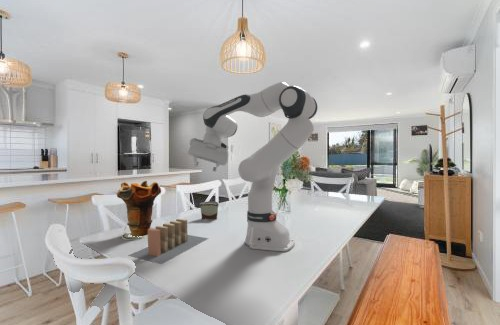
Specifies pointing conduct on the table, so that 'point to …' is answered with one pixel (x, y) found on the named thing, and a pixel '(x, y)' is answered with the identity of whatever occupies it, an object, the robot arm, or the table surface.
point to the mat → (169, 251)
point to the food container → (209, 210)
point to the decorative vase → (138, 207)
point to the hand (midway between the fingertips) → (205, 168)
